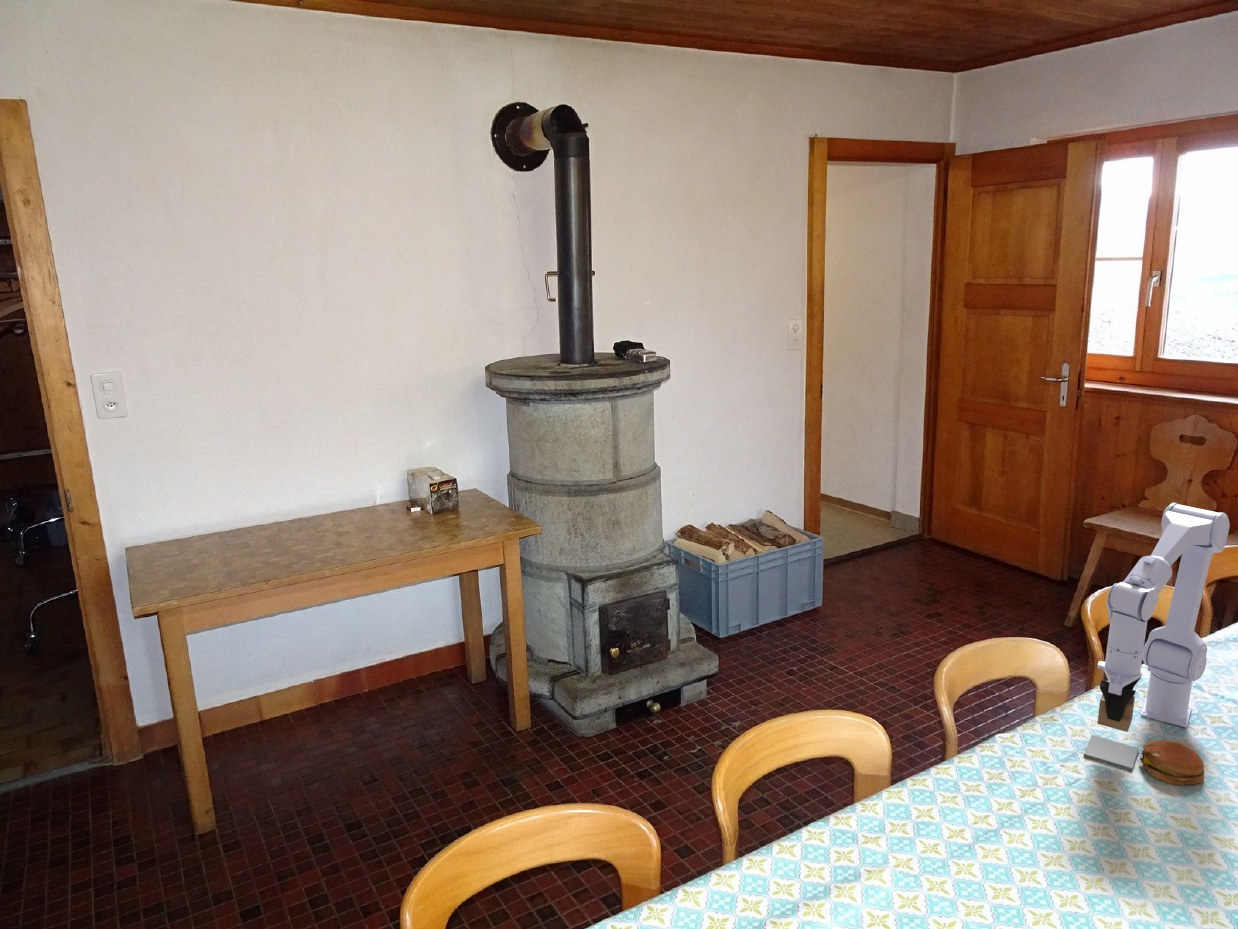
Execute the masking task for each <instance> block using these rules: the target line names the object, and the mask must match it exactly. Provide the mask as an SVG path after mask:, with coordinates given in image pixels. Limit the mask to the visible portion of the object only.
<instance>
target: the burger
mask: <svg viewBox="0 0 1238 929" xmlns="http://www.w3.org/2000/svg"><path fill="white" fill-rule="evenodd" d="M1141 755H1142V757H1141V756H1140V757H1139V761H1141V762H1140V763H1142V764H1143V767H1144V768H1145V769H1146V772H1147V774H1148V775H1150V776H1151V777H1152V778H1154V779H1155V780H1158V781H1160V782H1164V783H1166V784H1169V785H1175V786H1184V785H1196V784H1199V783H1202V782H1204V780H1205V774H1206V773H1205V770H1204V769H1205V762H1204V761H1203V759H1202V757H1201V756H1200V755H1199V754H1198V753H1197V752H1196V751H1195V750H1193V748H1191V747H1189V746H1188V745H1185V744H1184V743H1180V742H1178V741H1173V740H1172V741H1171V740H1164V739H1163V740H1162V739H1161V740H1160V739H1159V740H1157V739H1156V740H1151V741H1148V742H1146V743H1145V744H1144V745H1143V747H1142V751H1141Z"/></svg>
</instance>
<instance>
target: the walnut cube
mask: <svg viewBox="0 0 1238 929" xmlns="http://www.w3.org/2000/svg"><path fill="white" fill-rule="evenodd" d="M1135 700H1136V696H1135V695H1134V696H1133V697H1132V698H1131V699H1130V701H1129V702H1128V704H1127V705H1126V708H1125V711H1124V714H1123V717H1122V719H1121V721H1120V722H1118V721H1114V720H1110V719H1108V718H1107V713H1106V705H1105V699H1104V696H1103V694H1102V695H1101V697H1100V700H1099V708H1098V714H1097V715H1098V716H1097V722H1096V723H1097V725H1101V726H1104V727H1108V728H1110V729H1115V730H1118V731H1119V730H1120V731H1121V732H1126V733H1128V732H1129V729H1130V727H1131V723H1132V721H1133V715H1134V707H1135Z"/></svg>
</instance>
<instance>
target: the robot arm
mask: <svg viewBox="0 0 1238 929" xmlns="http://www.w3.org/2000/svg"><path fill="white" fill-rule="evenodd" d="M1161 516H1162V517H1161V534H1162V535H1161V537H1160V538H1159V540H1158V542H1157V543H1156V545H1155V547H1154V549H1153V551H1152V552H1151V554H1150V555H1145V556H1142V557H1141V558H1140V559H1139V560H1138V562H1136V564H1135V565H1134V566H1133V568H1132V569H1131V570H1130V572H1129V573H1128V575H1127V576H1126V578H1125V579H1124V580H1123V581H1121V582H1119V583H1118V582H1116V583H1114V584H1113V585H1112V586H1111V587H1110V589H1109V592H1108V594H1107V598H1106V609H1107V611H1108V612H1107V619H1108V621H1110V624H1109V630H1108V637H1107V638H1108V639H1107V645H1106V653H1105V660H1104V661H1102V660H1099V661H1098V662H1097V669H1100V670H1103V671H1104V674H1105V676H1106V678H1107V680H1108V681H1105V680H1100V683H1099V689H1100V691H1101V693H1102V695H1103V696H1104V699H1105V705H1106V713H1107V718H1108V719H1110V720H1114V721H1118V722H1120V721H1121V719H1122V717H1123V714H1124V711H1125V708H1126V705H1127V704H1128V702H1129V701H1130V699H1131V698H1132V697H1133V696H1135V695H1136V692H1137V691H1136V690H1134V688H1135V686H1136V684H1138V683H1139V681H1140V680H1141V678H1142V662H1143V663H1144V665H1145V666H1147V671H1148V672H1150V674H1149V680H1148V687H1147V689H1148V690H1147V694H1146V698H1145V700H1144V704H1143V706H1142V710H1141V712H1140V716H1142V717H1145V718H1148V719H1153V720H1156V721H1160V722H1163V723H1168V724H1171V725H1174V726H1179V727H1182V728H1187V727H1188V724H1189V720H1190V717H1191V712H1192V705H1190V699H1191V693H1192V692H1191V691H1192V687H1193V682H1196V681H1198V680H1200V679H1201V678H1202V677H1203V674H1204V673H1205V670H1206V667H1207V662H1208V661H1207V659H1208V658H1207V652H1208V644H1207V643H1206V642H1205V641H1204V640H1203V639H1202V638H1201V637H1200V636H1199V634H1198V633H1197V632H1196V631H1195V628H1196V624H1197V620H1198V617H1199V616H1198V615H1199V611H1200V607H1201V604H1202V600H1203V599H1202V598H1203V594H1204V589H1205V586H1206V582H1207V577H1208V575H1209V574H1208V573H1209V569H1210V565H1211V561H1212V558H1213V555H1214V554H1217V553H1218V554H1219V553H1223V551H1224V548H1225V547H1226V544H1227V541H1228V540H1227V539H1228V536H1229V532H1230V526H1231V524H1230V520H1229V517H1228V515H1227V514H1226V513H1225V512H1216V511H1213V510H1209V509H1203V508H1198V507H1192V506H1188V505H1183V504H1179V503H1178V502H1172V503H1170V504H1169V505H1168V506H1166V508H1165V510H1164V511H1163V513H1162V515H1161ZM1180 557H1181V558H1180ZM1178 558H1180V562H1179V566H1178V567H1179V568H1178V571H1177V575H1176V578H1175V584H1174V589H1173V591H1172V592H1173V593H1172V597H1171V601H1170V606H1169V610H1168V614H1167V618H1166V623H1165V625H1163V626H1160V627H1156V628H1154V629H1152V630H1151V631H1150V632H1149V634H1148V638H1147V640H1146V633H1147V628H1148V627H1147V626H1148V620H1150V619H1151V618H1152V616H1153V615H1154V612H1155V610H1156V607H1157V604H1158V602H1159V600H1160V593H1161V591H1163V589H1164V587H1165V586H1166V585H1167V583H1168V581H1170V579H1171V577H1172V575H1173V570H1172V567H1171V566H1172V565H1173V564H1174V563H1175V562H1176V561H1177V560H1178ZM1145 640H1146V642H1145Z"/></svg>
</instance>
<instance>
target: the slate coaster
mask: <svg viewBox="0 0 1238 929" xmlns="http://www.w3.org/2000/svg"><path fill="white" fill-rule="evenodd" d="M1139 750H1140V749H1139V747H1136V746H1133V745H1129V744H1126V743H1122V742H1120V741H1116V740H1112V739H1108V738H1105V737H1101V736H1097V735H1094V734H1091V736H1090V738H1089V740H1088V742H1087V745H1086V748H1085V750H1084V753H1083V757H1084V758H1087V759H1091V760H1093V761H1096V762H1097V761H1098V762H1100V763H1104V764H1106V765H1111V766H1114V767H1117V768H1120V769H1123V770H1126V771H1130V772H1132V771H1133V769H1134V766H1135V763H1136V760H1137V756H1138V754H1139Z"/></svg>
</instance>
